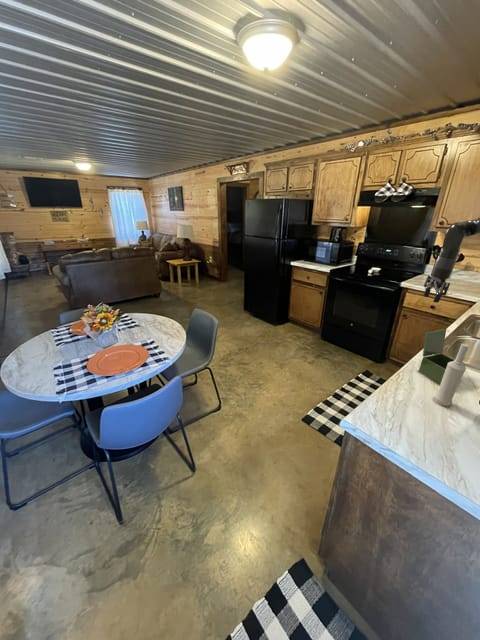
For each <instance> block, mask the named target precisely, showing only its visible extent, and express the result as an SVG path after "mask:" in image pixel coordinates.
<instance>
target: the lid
mask: <svg viewBox="0 0 480 640" xmlns="http://www.w3.org/2000/svg"><path fill="white" fill-rule="evenodd" d="M446 334H447V329H446V328H444V329H437V330H434V331H433V330H432V331H428V332H425V335H424V343H423V351H422V358H423V357H427V356H431V355H436V354H441V353H442V354H444V347H445V341H446Z"/></svg>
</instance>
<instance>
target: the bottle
mask: <svg viewBox="0 0 480 640" xmlns="http://www.w3.org/2000/svg"><path fill="white" fill-rule="evenodd" d="M469 347H470V345H469V344H467V343H461V344H460V346H459V350H458V352H457V355H456V357H455V359H454V361H452V362H449V363H448V364H447V367H446V370H445V373H444V376H443V379H442V381H441V384H440V385H439V387H438V390H437V392H436V394H435V396H434V402H435V403H436V404H438V405H440V406H442V407H450V406H451V405H452V403H453V398H454V396H455V394H456V392H457V389H458V387H459V385H460V383H461V380H462V378H463V376H464V375H465V372H466V370H467V367H466V365H465V364H464V360H465V357H466V354H467V351H468V349H469ZM463 364H464V365H465V366H464V365H463Z"/></svg>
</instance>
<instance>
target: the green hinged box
mask: <svg viewBox="0 0 480 640" xmlns="http://www.w3.org/2000/svg"><path fill="white" fill-rule="evenodd" d="M454 360H455V359H454V358H452V357H450V356H448V355H446V354H444V353H439V354H434V355H430V356H425V357H423V356H422V359H421V362H420V365H419V367H418V373H420V374H422V375H423V376H425V377H426V378H428V379H429V380H431V381H432V382H434V383H435V384H437V385H439V386H440V384H441V381H442V379H443V376H444V373H445V370H446V367H447V364H448V363H449V362H452V361H454ZM463 365H464V366H465V367H466V364H464V363H463Z"/></svg>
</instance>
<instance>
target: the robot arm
mask: <svg viewBox="0 0 480 640" xmlns="http://www.w3.org/2000/svg"><path fill="white" fill-rule="evenodd" d="M479 234H480V217H478V218H474V219H470V220H466V221H457V222H453V223H451V225H449V226H448V228H447V229H446V232H445V235H444V238H443V243H442V246H441V248H440V251H439V253H438V256H437V258H436V260H435V262H434V264H433V267H432V269H431V272H430V275H427V277H426V279H425V281H424V284H423V287H424V289H425V290H424V292H423V295H422V296H423V297H424V298H429V296H430V293H431V291H432V289H433V288H434V291H435V295H434V298H433V300H432V302H433V303H436V304H437V303H439V302H441V301H440V300H441V298H442V296H447V294H448V291H449V287H450V285H451V283H450V282H447V279H448V280H449V279H450V277H451V275H452V273H453V271H454V268H455V265H456V262H457V259H458V257H459V254H460V251H461V245H462V243H463V240H464V238H467V237H471V236H472V237H473V236H474V235H479Z"/></svg>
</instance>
